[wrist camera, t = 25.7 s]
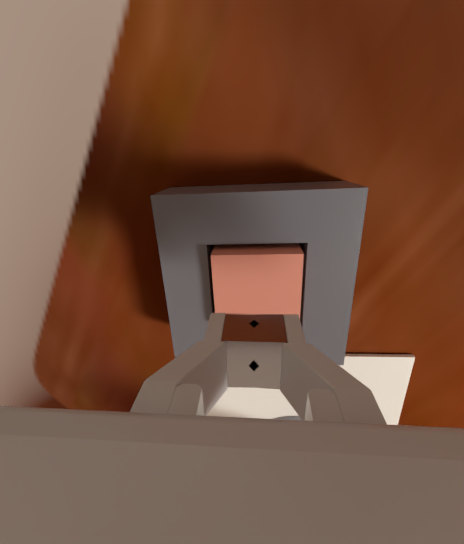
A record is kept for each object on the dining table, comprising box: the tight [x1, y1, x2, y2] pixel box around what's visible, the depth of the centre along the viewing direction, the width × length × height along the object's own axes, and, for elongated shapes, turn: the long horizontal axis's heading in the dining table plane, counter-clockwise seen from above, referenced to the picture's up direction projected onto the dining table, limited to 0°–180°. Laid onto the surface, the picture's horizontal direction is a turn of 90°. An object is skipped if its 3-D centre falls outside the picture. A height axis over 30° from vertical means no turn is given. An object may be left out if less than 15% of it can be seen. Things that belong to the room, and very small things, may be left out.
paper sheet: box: [206, 354, 415, 425], centre depth 24 cm, size 20×16×1 cm
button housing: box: [150, 181, 368, 365], centre depth 16 cm, size 10×10×4 cm
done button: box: [211, 243, 304, 318], centre depth 15 cm, size 4×4×3 cm
